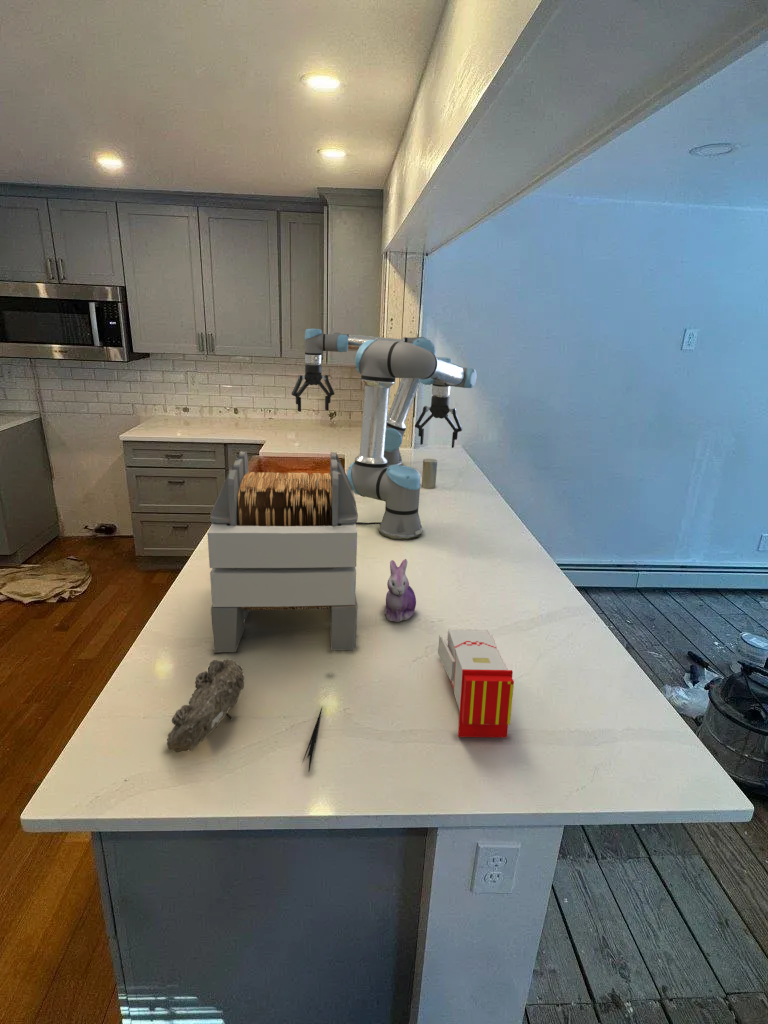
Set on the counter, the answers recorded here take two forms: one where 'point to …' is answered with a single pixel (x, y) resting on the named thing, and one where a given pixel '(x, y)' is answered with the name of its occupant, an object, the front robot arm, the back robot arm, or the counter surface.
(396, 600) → the figurine
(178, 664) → the counter surface
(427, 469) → the tin
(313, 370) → the back robot arm
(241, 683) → the fossil
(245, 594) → the file storage bin
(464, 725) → the toy
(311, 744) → the feather
